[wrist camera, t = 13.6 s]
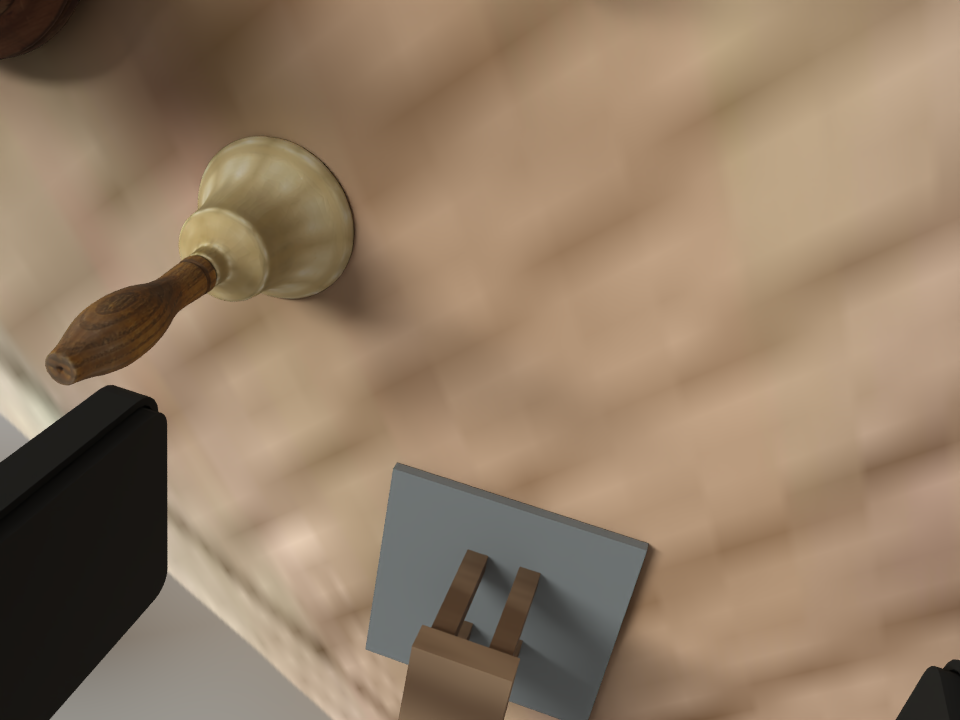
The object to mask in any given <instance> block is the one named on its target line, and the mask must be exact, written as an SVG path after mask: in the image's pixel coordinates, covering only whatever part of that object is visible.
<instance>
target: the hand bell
mask: <svg viewBox="0 0 960 720" xmlns="http://www.w3.org/2000/svg"><path fill="white" fill-rule="evenodd" d="M353 237H354V229H353V219H352V213H351V210H350V207H349V204H348V202H347V199H346V196H345V194H344V192H343V190H342V188H341V186H340V184H339V183H338V181H337V180H336V178H335V177H334V176H333V175H332V173H331V172H330V171H329V170H328V169H327V167H326V166H325V165H324V164H323V163H322V162H321V161H320V160H319V159H317V158H316V157H315V156H314V155H313V154H311V153H310V152H308V151H307V150H305V149H304V148H302V147H301V146H299V145H297V144H295V143H292V142H289V141H286V140H283V139H280V138H274V137H266V136H252V137H247V138H243V139H239V140H237V141H234V142H232V143H230V144H229V145H227V146H225V147H224V148H222V149H221V150H220V151H219V152H218V153H217V154H216V155H215V156H214V157H213V158H212V160H211V161H210V162H209V164H208V166H207V168H206V169H205V172H204V174H203V177H202V180H201V183H200V188H199V194H198V210H197V211H196V212H195V213H193V214H192V215H191V216H190V217H189V218H188V219H187V220H186V222H185V223H184V225H183V227H182V230H181V233H180V236H179V254H180V258H181V262H180V263H179V264H177V265H176V266H174V267H173V268H172V269H170V270H169V271H168V272H166V273H165V274H164V275H162V276H161V277H160V278H158V279H157V280H155V281H152V282H149V283H146V284H140V285H134V286H129V287H126V288H123V289H120V290H117V291H115V292H112V293H110V294H108V295H106V296H104V297H102V298H101V299H99V300H97V301H96V302H94V303H93V304H91V305H90V306H89V307H87V308H86V309H85V310H83V311H82V312H81V313H80V314H79V315H78V316H77V317H76V318H75V319H74V321H73V322H72V323H71V324H70V326H69V327H68V329H67V330H66V332H65V333H64V335H63V337H62V338H61V340H60V341H59V343H58V344H57V346H56V347H55V348H54V349H53V351H52V352H51V353H50V354H49V355H48V356H47V358H46V361H45V366H46V369H47V372H48V373H49V375H50V376H51V377H52V379H54V380H55V381H56V382H58V383H60V384H62V385H71V384H74V383H76V382H79V381H81V380H84V379H88V378H91V377H95V376H101V375H105V374H108V373H111V372H114V371H117V370H119V369H122V368H124V367H126V366H128V365H130V364H131V363H133V362H134V361H136V360H137V359H138V358H140V357H141V356H142V355H144V354H145V353H146V352H147V351H149V350H150V349H151V348H152V347H153V346H154V345H155V344H156V343H157V342H158V341H159V339H160V338H161V337H162V336H163V334H164V333H165V332H166V330H167V329H168V327H169V326H170V324H171V322H172V320H173V318H174V317H175V315H176V314H177V313H178V312H179V311H180V310H181V309H183V308H184V307H185V306H187V305H188V304H190V303H192V302H193V301H195V300H197V299H198V298H200V297H201V296H203V295H204V294H206V293H208V294H209V295H211V296H213V297H215V298H218V299H221V300H224V301H230V302H237V301H244V300H248V299H250V298H252V297H254V296H256V295H258V294H260V293H262V294H265V295H268V296H271V297H277V298H288V299H295V298H304V297H308V296H311V295H314V294H317V293H319V292H321V291H323V290H324V289H326V288H328V287H329V286H330V285H332V284H333V283H334V282H335V281H336V280H337V279H338V278H339V276H340V275H341V274H342V272H343V271H344V269H345V268H346V266H347V263H348V261H349V258H350V255H351V252H352V247H353Z"/></svg>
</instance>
